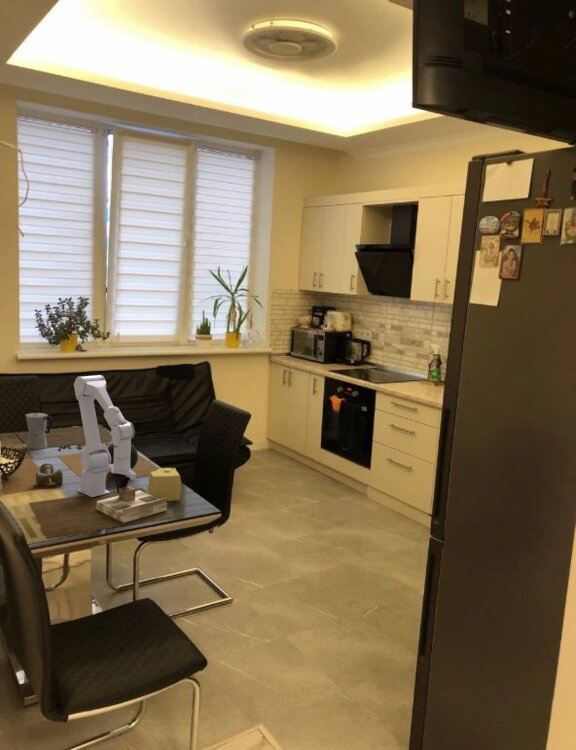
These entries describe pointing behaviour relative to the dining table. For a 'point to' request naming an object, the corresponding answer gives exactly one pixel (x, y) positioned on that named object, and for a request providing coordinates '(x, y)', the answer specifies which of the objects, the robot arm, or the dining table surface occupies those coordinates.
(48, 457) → the dining table surface
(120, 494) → the walnut cube
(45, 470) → the kendama
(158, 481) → the cheese
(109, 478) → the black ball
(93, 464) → the robot arm
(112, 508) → the divided wooden tray
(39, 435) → the coffeepot
